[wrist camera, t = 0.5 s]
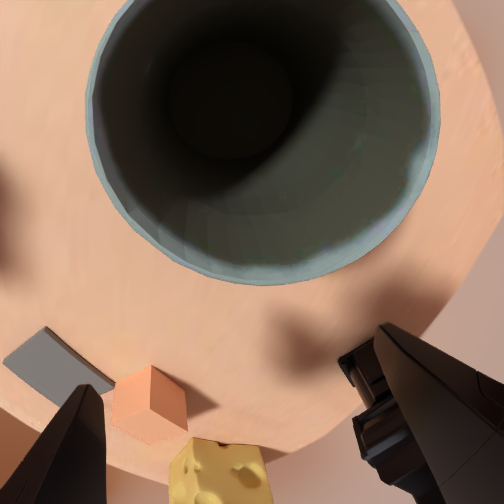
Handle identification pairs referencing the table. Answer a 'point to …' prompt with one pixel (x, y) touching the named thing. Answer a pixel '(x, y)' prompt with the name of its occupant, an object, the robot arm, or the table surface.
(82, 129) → the table surface
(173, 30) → the grey-blue cup
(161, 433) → the cube
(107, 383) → the coaster
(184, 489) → the cheese
